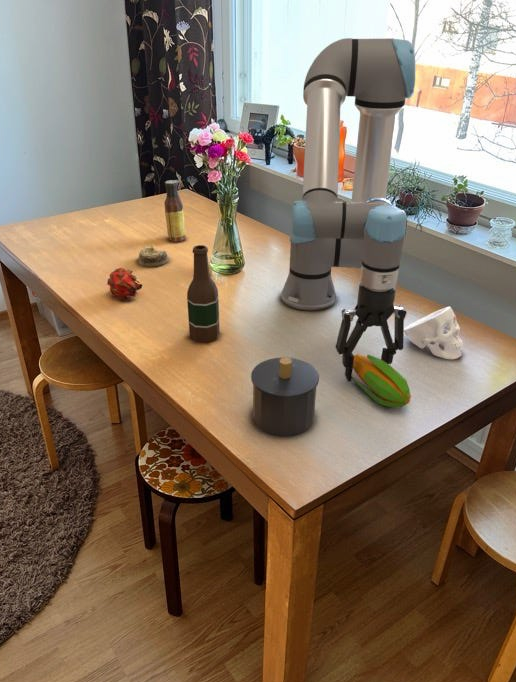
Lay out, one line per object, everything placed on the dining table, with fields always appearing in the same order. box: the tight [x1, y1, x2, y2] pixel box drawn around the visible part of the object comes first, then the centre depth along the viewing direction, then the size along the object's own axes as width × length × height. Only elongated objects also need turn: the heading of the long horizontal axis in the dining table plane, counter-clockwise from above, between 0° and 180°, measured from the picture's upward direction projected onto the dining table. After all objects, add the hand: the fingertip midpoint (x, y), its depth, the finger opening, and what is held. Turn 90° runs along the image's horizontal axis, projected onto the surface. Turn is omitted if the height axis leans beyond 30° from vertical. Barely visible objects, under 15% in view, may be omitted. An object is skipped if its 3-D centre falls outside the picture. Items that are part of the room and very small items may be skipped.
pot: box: [252, 384, 317, 437], centre depth 121 cm, size 13×13×10 cm
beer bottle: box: [186, 244, 220, 344], centre depth 144 cm, size 8×8×24 cm
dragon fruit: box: [106, 267, 143, 301], centre depth 167 cm, size 8×8×12 cm
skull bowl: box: [404, 306, 464, 360], centre depth 145 cm, size 10×14×12 cm
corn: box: [351, 354, 412, 409], centre depth 129 cm, size 7×8×20 cm
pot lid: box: [250, 357, 320, 398], centre depth 117 cm, size 14×14×5 cm
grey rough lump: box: [138, 245, 170, 268], centre depth 188 cm, size 10×10×5 cm
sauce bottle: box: [164, 179, 187, 243], centre depth 200 cm, size 7×6×20 cm
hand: (365, 376), depth 134 cm, fingers closed on corn, 7 cm apart
